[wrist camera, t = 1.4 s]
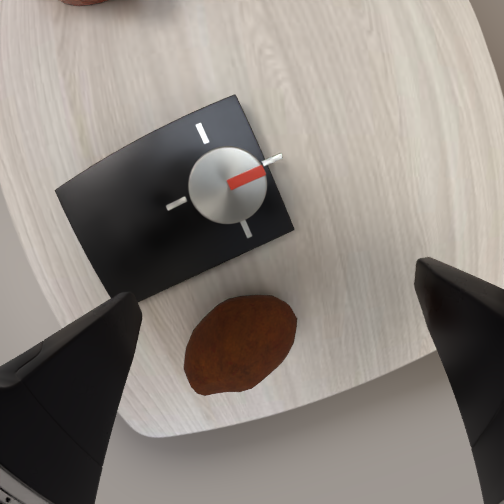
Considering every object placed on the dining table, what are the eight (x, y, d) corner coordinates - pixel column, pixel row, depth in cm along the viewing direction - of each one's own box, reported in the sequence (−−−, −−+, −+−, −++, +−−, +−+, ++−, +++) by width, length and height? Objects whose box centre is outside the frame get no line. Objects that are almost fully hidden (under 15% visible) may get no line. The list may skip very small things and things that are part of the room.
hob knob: (209, 221, 20) (208, 238, 16) (182, 166, 19) (174, 167, 15) (264, 195, 20) (280, 205, 16) (240, 140, 19) (248, 133, 15)
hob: (126, 297, 24) (118, 312, 21) (68, 187, 21) (53, 190, 18) (299, 217, 24) (310, 223, 21) (246, 95, 21) (251, 87, 18)
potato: (165, 313, 25) (154, 358, 18) (270, 264, 25) (290, 297, 18) (206, 374, 27) (207, 424, 20) (301, 332, 27) (324, 376, 20)
